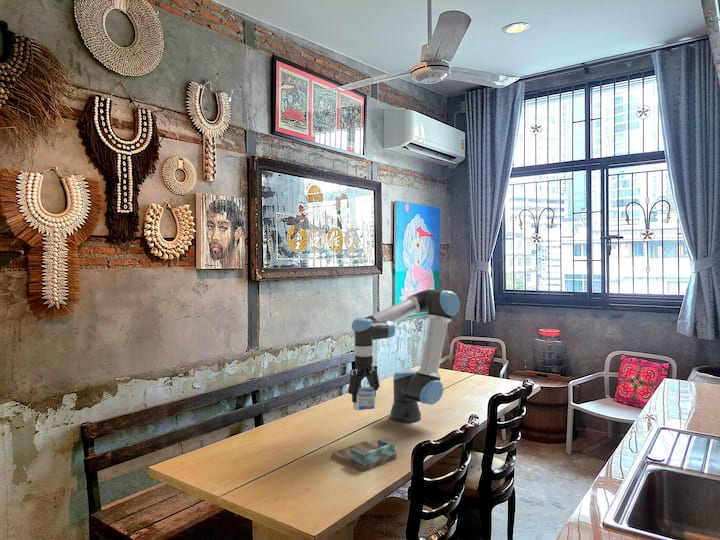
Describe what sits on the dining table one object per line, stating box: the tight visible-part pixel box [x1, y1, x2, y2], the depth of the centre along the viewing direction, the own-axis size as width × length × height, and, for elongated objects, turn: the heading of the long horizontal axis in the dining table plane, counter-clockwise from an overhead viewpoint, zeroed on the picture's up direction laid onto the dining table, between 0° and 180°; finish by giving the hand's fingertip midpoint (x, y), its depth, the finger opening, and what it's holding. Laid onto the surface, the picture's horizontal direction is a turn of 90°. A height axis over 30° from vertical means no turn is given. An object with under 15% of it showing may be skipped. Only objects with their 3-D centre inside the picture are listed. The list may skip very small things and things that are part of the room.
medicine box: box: [357, 386, 375, 411], centre depth 215 cm, size 8×4×9 cm, turn 105°
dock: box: [331, 438, 397, 473], centre depth 198 cm, size 18×18×6 cm
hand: (364, 407), depth 215 cm, fingers closed on medicine box, 9 cm apart
